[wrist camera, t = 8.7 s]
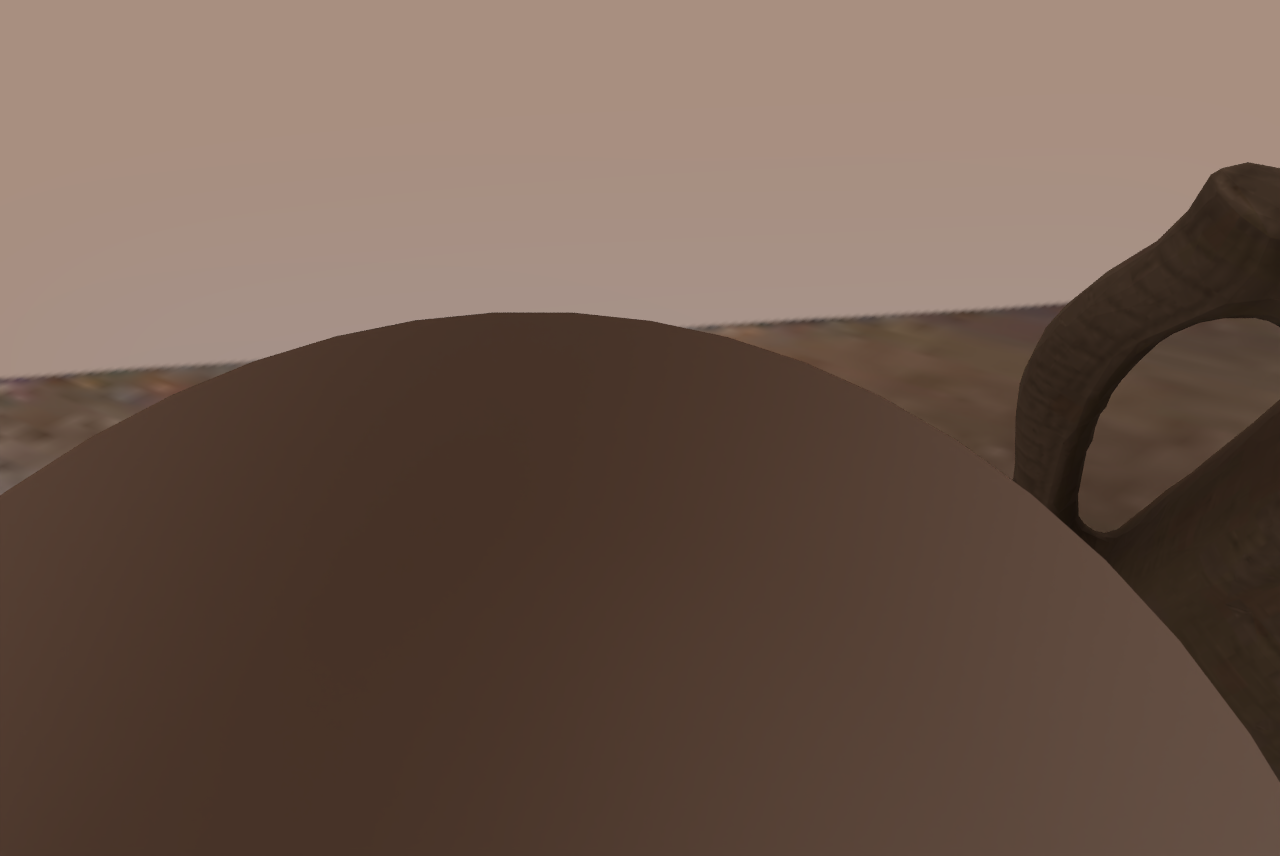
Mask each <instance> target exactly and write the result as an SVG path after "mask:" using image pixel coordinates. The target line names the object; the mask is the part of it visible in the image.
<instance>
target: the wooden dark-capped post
mask: <svg viewBox="0 0 1280 856" xmlns="http://www.w3.org/2000/svg"><path fill="white" fill-rule="evenodd" d="M0 856H1280V782H1279V780H1278V779H1277V777H1276V775H1275V774H1274V772H1273V770H1272V769H1271V767H1270V766H1269V764H1268V762H1267V761H1266V759H1265V757H1264V756H1263V754H1262V753H1261V751H1260V749H1259V748H1258V746H1257V744H1256V743H1255V741H1254V740H1253V738H1252V736H1251V735H1250V733H1249V732H1248V731H1247V729H1246V728H1245V727H1244V725H1243V724H1242V723H1241V721H1240V720H1239V719H1238V717H1237V716H1236V715H1235V713H1234V712H1233V711H1232V709H1231V708H1230V707H1229V705H1228V704H1227V703H1226V701H1225V700H1224V699H1223V697H1222V696H1221V695H1220V694H1219V692H1218V691H1217V690H1216V688H1215V687H1214V686H1213V684H1212V683H1211V682H1210V680H1209V679H1208V678H1207V676H1206V675H1205V674H1204V672H1203V671H1202V670H1201V668H1200V667H1199V666H1198V664H1197V663H1196V662H1195V660H1194V659H1193V658H1192V656H1191V655H1190V654H1189V652H1188V651H1187V650H1186V648H1185V647H1184V646H1183V645H1182V643H1181V642H1180V641H1179V639H1178V638H1177V637H1176V636H1175V635H1174V634H1173V633H1172V632H1171V631H1170V630H1169V628H1168V627H1167V626H1166V625H1165V624H1164V623H1163V622H1162V621H1161V620H1160V619H1159V618H1158V617H1157V615H1156V614H1155V613H1154V612H1153V611H1152V610H1151V609H1150V608H1149V607H1148V606H1147V605H1146V603H1145V602H1144V601H1143V600H1142V599H1141V598H1140V597H1139V596H1138V595H1137V594H1136V593H1135V592H1134V590H1133V589H1132V588H1131V587H1130V586H1129V585H1128V584H1127V583H1126V582H1125V581H1124V580H1123V579H1122V577H1121V576H1120V575H1119V574H1118V573H1117V572H1116V571H1115V570H1114V569H1113V568H1112V567H1111V565H1110V564H1109V563H1108V562H1107V561H1106V560H1105V559H1104V558H1103V557H1101V556H1100V555H1099V554H1098V553H1097V552H1096V551H1095V550H1094V549H1092V548H1091V547H1090V546H1089V545H1088V544H1087V543H1086V542H1085V541H1083V540H1082V539H1081V538H1080V537H1079V536H1078V535H1077V534H1076V533H1074V532H1073V531H1072V530H1071V529H1070V528H1069V527H1068V526H1067V525H1065V524H1064V523H1063V522H1062V521H1061V520H1060V519H1059V518H1058V517H1056V516H1055V515H1054V514H1053V513H1052V512H1051V511H1050V510H1049V509H1047V508H1046V507H1045V506H1044V505H1043V504H1042V503H1041V502H1040V501H1038V500H1037V499H1036V498H1035V497H1034V496H1033V495H1032V494H1030V493H1029V492H1028V491H1026V490H1025V489H1023V488H1022V487H1021V486H1019V485H1018V484H1017V483H1015V482H1014V481H1012V480H1011V479H1010V478H1008V477H1007V476H1005V475H1004V474H1003V473H1001V472H1000V471H999V470H997V469H996V468H994V467H993V466H992V465H990V464H989V463H988V462H986V461H985V460H983V459H982V458H981V457H979V456H978V455H976V454H975V453H974V452H972V451H971V450H970V449H968V448H967V447H965V446H964V445H963V444H961V443H960V442H958V441H957V440H956V439H954V438H952V437H950V436H949V435H947V434H945V433H943V432H942V431H940V430H938V429H936V428H935V427H933V426H931V425H930V424H928V423H926V422H924V421H923V420H921V419H919V418H917V417H916V416H914V415H912V414H910V413H909V412H907V411H905V410H904V409H902V408H900V407H898V406H897V405H895V404H893V403H891V402H890V401H888V400H886V399H884V398H883V397H881V396H879V395H877V394H874V393H872V392H870V391H868V390H865V389H863V388H861V387H859V386H856V385H854V384H852V383H850V382H847V381H845V380H843V379H841V378H838V377H836V376H834V375H832V374H829V373H827V372H825V371H823V370H820V369H818V368H816V367H814V366H811V365H809V364H807V363H805V362H802V361H799V360H796V359H793V358H790V357H786V356H783V355H780V354H777V353H774V352H771V351H768V350H765V349H762V348H759V347H756V346H753V345H750V344H746V343H743V342H740V341H737V340H734V339H731V338H728V337H724V336H719V335H714V334H709V333H705V332H700V331H695V330H691V329H686V328H681V327H677V326H672V325H667V324H662V323H658V322H653V321H646V320H637V319H627V318H617V317H608V316H598V315H589V314H579V313H486V314H476V315H466V316H456V317H446V318H436V319H425V320H415V321H410V322H405V323H400V324H395V325H391V326H385V327H381V328H376V329H371V330H366V331H361V332H356V333H351V334H346V335H341V336H336V337H332V338H330V339H326V340H323V341H320V342H316V343H313V344H309V345H306V346H303V347H300V348H296V349H293V350H290V351H286V352H283V353H280V354H277V355H274V356H270V357H267V358H263V359H260V360H257V361H254V362H251V363H249V364H246V365H244V366H242V367H239V368H237V369H234V370H232V371H229V372H227V373H225V374H222V375H220V376H217V377H215V378H212V379H210V380H207V381H205V382H203V383H200V384H198V385H195V386H193V387H190V388H188V389H186V390H183V391H181V392H178V393H176V394H173V395H171V396H169V397H167V398H165V399H164V400H162V401H160V402H158V403H156V404H154V405H152V406H150V407H148V408H146V409H144V410H142V411H141V412H139V413H137V414H135V415H133V416H131V417H129V418H127V419H125V420H123V421H121V422H119V423H118V424H116V425H114V426H112V427H110V428H108V429H106V430H104V431H102V432H100V433H98V434H96V435H95V436H93V437H91V438H89V439H87V440H86V441H84V442H83V443H81V444H79V445H78V446H76V447H75V448H73V449H72V450H70V451H69V452H67V453H65V454H64V455H62V456H61V457H59V458H58V459H56V460H54V461H53V462H51V463H50V464H48V465H47V466H45V467H44V468H42V469H40V470H39V471H37V472H36V473H34V474H33V475H31V476H29V477H28V478H26V479H25V480H23V481H22V482H20V483H19V484H17V485H15V486H14V487H12V488H11V489H9V490H8V491H6V492H5V493H3V494H2V495H1V496H0Z"/></svg>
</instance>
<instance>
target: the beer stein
mask: <svg viewBox="0 0 1280 856" xmlns="http://www.w3.org/2000/svg"><path fill="white" fill-rule="evenodd" d="M1222 318H1257V319H1262V320H1267V321H1270V322H1272V323H1274V324H1275V325H1277V326H1279V327H1280V168H1275V167H1270V166H1265V165H1259V164H1254V163H1248V162H1247V163H1243V164H1239V165H1234V166H1230V167H1225V168H1222V169H1220V170H1218V171H1217V172H1215V173H1213V174H1211V176H1210V177H1209V179H1208V180H1207V182H1206V183H1205V185H1204V186H1203V188H1202V190H1201V191H1200V193H1199V194H1198V196H1197V198H1196V199H1195V201H1194V202H1193V204H1192V206H1191V207H1190V209H1189V210H1188V211H1187V212H1186V213H1185V214H1184V215H1183V216H1182V217H1181V218H1180V219H1179V220H1178V221H1177V222H1176V223H1175V224H1174V225H1173V226H1172V227H1171V228H1170V229H1169V230H1168V231H1167V232H1166V233H1165V234H1164V235H1163V236H1162V237H1161V238H1160V239H1159V240H1158V241H1157V242H1155V243H1153V244H1151V245H1150V246H1148V247H1147V248H1145V249H1143V250H1142V251H1140V252H1138V253H1137V254H1135V255H1134V256H1132V257H1130V258H1129V259H1127V260H1125V261H1124V262H1122V263H1121V264H1119V265H1117V266H1116V267H1114V268H1112V269H1111V270H1109V271H1108V272H1107V273H1105V274H1104V275H1103V276H1101V277H1100V278H1099V279H1098V280H1096V281H1095V282H1094V283H1093V284H1092V285H1090V286H1089V287H1088V288H1087V289H1085V290H1084V291H1083V292H1082V293H1080V294H1079V295H1078V296H1077V297H1075V298H1074V299H1073V300H1072V301H1070V302H1069V303H1068V304H1067V305H1066V306H1065V307H1064V308H1063V309H1062V310H1061V312H1060V313H1059V314H1058V315H1057V316H1056V317H1055V318H1054V319H1053V321H1052V322H1051V323H1050V324H1049V325H1048V326H1047V327H1046V329H1045V331H1044V333H1043V335H1042V337H1041V338H1040V340H1039V342H1038V344H1037V346H1036V348H1035V350H1034V352H1033V354H1032V356H1031V358H1030V360H1029V362H1028V364H1027V366H1026V368H1025V370H1024V373H1023V376H1022V379H1021V382H1020V387H1019V394H1018V402H1017V410H1016V435H1015V469H1014V478H1013V481H1014V482H1015V483H1017V484H1018V485H1019V486H1021V487H1022V488H1023V489H1025V490H1026V491H1028V492H1029V493H1030V494H1032V495H1033V496H1034V497H1035V498H1036V499H1037V500H1038V501H1040V502H1041V503H1042V504H1043V505H1044V506H1045V507H1046V508H1047V509H1049V510H1050V511H1051V512H1052V513H1053V514H1054V515H1055V516H1056V517H1058V518H1059V519H1060V520H1061V521H1062V522H1063V523H1064V524H1065V525H1067V526H1068V527H1069V528H1070V529H1071V530H1072V531H1073V532H1074V533H1076V534H1077V535H1078V536H1079V537H1080V538H1081V539H1082V540H1083V541H1085V542H1086V543H1087V544H1088V545H1089V546H1090V547H1091V548H1092V549H1094V550H1095V551H1096V552H1097V553H1098V554H1099V555H1100V556H1101V557H1103V558H1104V559H1105V560H1106V561H1107V562H1108V563H1109V564H1110V565H1111V567H1112V568H1113V569H1114V570H1115V571H1116V572H1117V573H1118V574H1119V575H1120V576H1121V577H1122V579H1123V580H1124V581H1125V582H1126V583H1127V584H1128V585H1129V586H1130V587H1131V588H1132V589H1133V590H1134V592H1135V593H1136V594H1137V595H1138V596H1139V597H1140V598H1141V599H1142V600H1143V601H1144V602H1145V603H1146V605H1147V606H1148V607H1149V608H1150V609H1151V610H1152V611H1153V612H1154V613H1155V614H1156V615H1157V617H1158V618H1159V619H1160V620H1161V621H1162V622H1163V623H1164V624H1165V625H1166V626H1167V627H1168V628H1169V630H1170V631H1171V632H1172V633H1173V634H1174V635H1175V636H1176V637H1177V638H1178V639H1179V641H1180V642H1181V643H1182V645H1183V646H1184V647H1185V648H1186V650H1187V651H1188V652H1189V654H1190V655H1191V656H1192V658H1193V659H1194V660H1195V662H1196V663H1197V664H1198V666H1199V667H1200V668H1201V670H1202V671H1203V672H1204V674H1205V675H1206V676H1207V678H1208V679H1209V680H1210V682H1211V683H1212V684H1213V686H1214V687H1215V688H1216V690H1217V691H1218V692H1219V694H1220V695H1221V696H1222V697H1223V699H1224V700H1225V701H1226V703H1227V704H1228V705H1229V707H1230V708H1231V709H1232V711H1233V712H1234V713H1235V715H1236V716H1237V717H1238V719H1239V720H1240V721H1241V723H1242V724H1243V725H1244V727H1245V728H1246V729H1247V731H1248V732H1249V733H1250V735H1251V736H1252V738H1253V740H1254V741H1255V743H1256V744H1257V746H1258V748H1259V749H1260V751H1261V753H1262V754H1263V756H1264V757H1265V759H1266V761H1267V762H1268V764H1269V766H1270V767H1271V769H1272V770H1273V772H1274V774H1275V775H1276V777H1277V779H1278V780H1279V782H1280V400H1279V401H1278V402H1276V403H1275V404H1274V405H1273V406H1272V407H1271V408H1270V409H1268V410H1267V411H1266V412H1265V413H1264V414H1263V415H1262V416H1260V417H1259V418H1258V419H1257V420H1256V421H1255V422H1254V423H1252V424H1251V425H1250V426H1249V427H1247V428H1246V429H1245V430H1244V431H1242V432H1241V433H1240V434H1239V435H1237V436H1236V437H1235V438H1234V439H1232V440H1231V441H1230V442H1229V443H1227V444H1226V445H1225V446H1224V447H1222V448H1221V449H1220V450H1219V451H1217V452H1216V453H1215V454H1214V455H1213V456H1211V457H1210V458H1209V459H1208V460H1207V461H1205V462H1204V463H1203V464H1202V465H1201V466H1199V467H1198V468H1197V469H1196V470H1195V471H1193V472H1192V473H1191V474H1189V475H1188V476H1187V477H1185V478H1184V479H1182V480H1181V481H1179V482H1178V483H1176V484H1175V485H1173V486H1172V487H1171V488H1169V489H1168V490H1166V491H1165V492H1164V493H1163V494H1161V495H1160V496H1159V497H1158V498H1157V499H1155V500H1154V501H1153V502H1152V503H1151V504H1149V505H1148V506H1147V507H1146V508H1144V509H1143V510H1142V511H1140V512H1139V513H1138V514H1136V515H1135V516H1134V517H1133V518H1131V519H1130V520H1129V521H1128V522H1126V523H1125V524H1124V525H1123V526H1121V527H1120V528H1119V529H1117V530H1114V531H1110V532H1107V533H1101V532H1096V531H1094V530H1092V529H1091V528H1090V527H1088V526H1087V525H1086V524H1084V523H1083V521H1082V520H1081V519H1080V517H1079V516H1078V492H1079V487H1080V482H1081V476H1082V471H1083V466H1084V461H1085V456H1086V451H1087V449H1088V447H1089V446H1090V444H1091V442H1092V439H1093V434H1094V430H1095V426H1096V424H1097V421H1098V418H1099V416H1100V414H1101V413H1102V411H1103V410H1104V409H1105V407H1106V406H1107V403H1108V401H1109V399H1110V396H1111V394H1112V393H1113V391H1114V390H1115V388H1116V387H1117V386H1118V384H1119V383H1120V382H1121V380H1122V379H1123V378H1124V377H1125V376H1126V375H1127V373H1128V372H1129V371H1130V370H1131V369H1132V368H1133V367H1134V366H1135V365H1136V364H1137V363H1138V362H1139V361H1140V360H1141V359H1142V358H1143V357H1144V356H1145V355H1146V354H1147V353H1148V352H1149V351H1150V350H1151V349H1153V348H1154V347H1155V346H1156V345H1157V344H1158V343H1159V342H1161V341H1162V340H1164V339H1165V338H1167V337H1169V336H1170V335H1172V334H1173V333H1176V332H1178V331H1180V330H1183V329H1185V328H1188V327H1190V326H1192V325H1195V324H1197V323H1200V322H1205V321H1211V320H1216V319H1222Z"/></svg>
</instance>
